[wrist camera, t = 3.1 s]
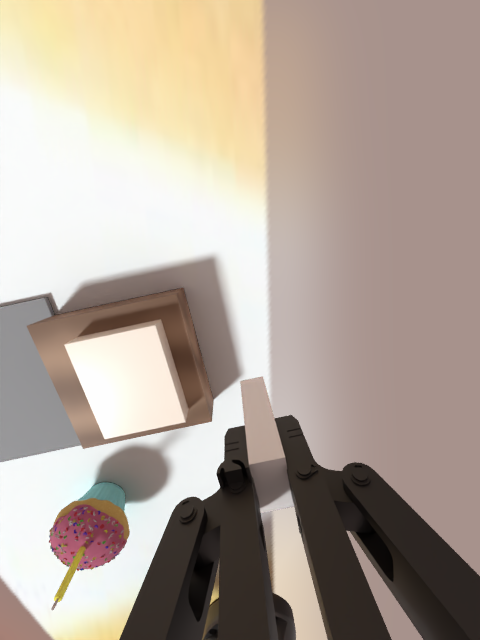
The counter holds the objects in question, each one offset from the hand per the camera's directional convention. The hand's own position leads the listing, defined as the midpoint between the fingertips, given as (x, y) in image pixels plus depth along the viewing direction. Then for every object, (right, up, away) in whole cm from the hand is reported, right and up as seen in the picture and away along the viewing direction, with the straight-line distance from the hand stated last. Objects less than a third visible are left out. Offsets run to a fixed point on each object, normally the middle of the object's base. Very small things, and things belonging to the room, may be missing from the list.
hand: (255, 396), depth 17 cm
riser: (-13, 0, +12) cm, 17 cm away
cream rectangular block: (-11, 0, +8) cm, 14 cm away
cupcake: (-19, -18, +17) cm, 31 cm away
